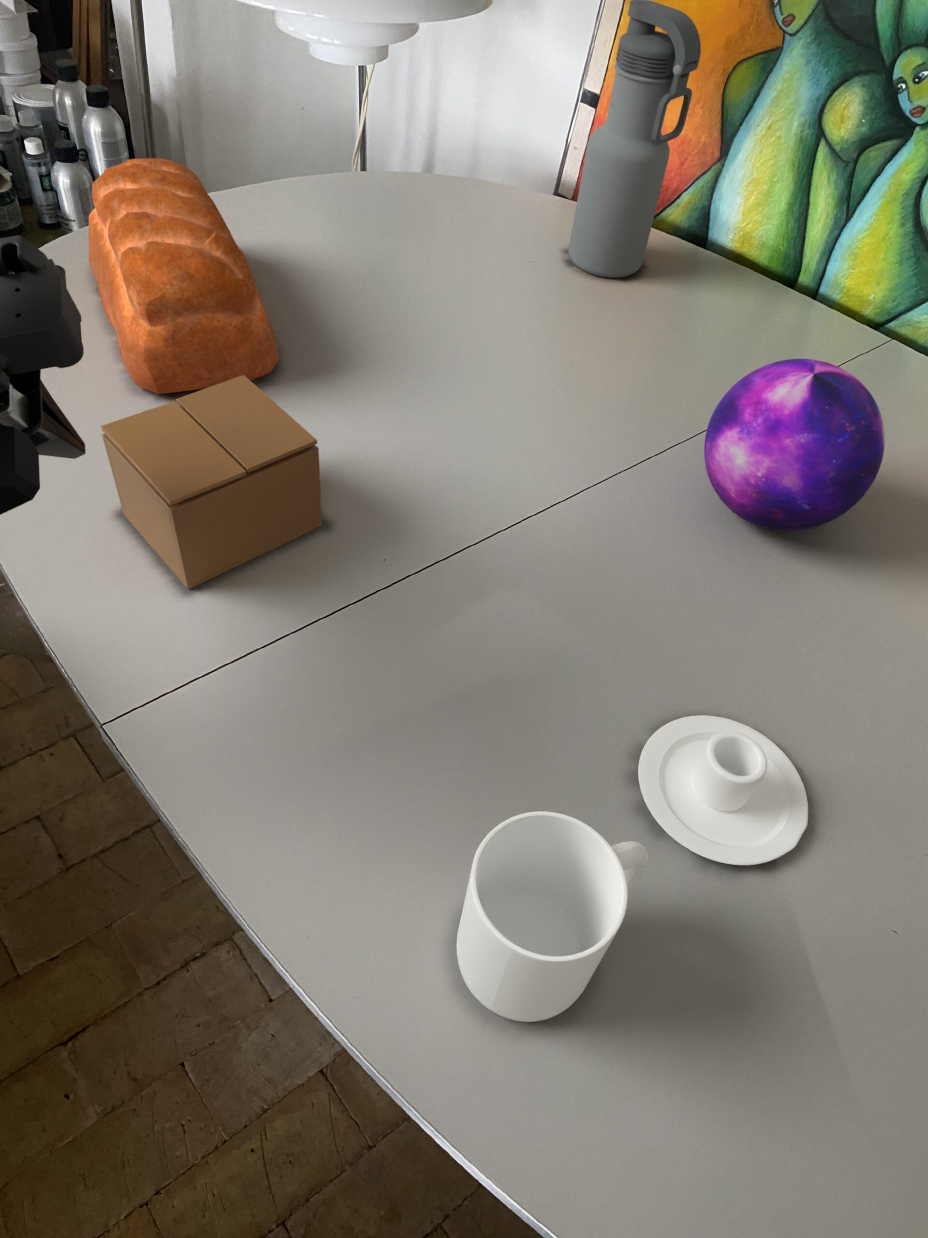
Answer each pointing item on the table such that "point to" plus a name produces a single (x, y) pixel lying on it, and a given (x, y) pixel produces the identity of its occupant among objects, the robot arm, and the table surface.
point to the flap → (173, 452)
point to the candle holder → (723, 790)
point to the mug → (542, 912)
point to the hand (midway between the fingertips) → (80, 452)
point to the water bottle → (633, 141)
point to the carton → (229, 486)
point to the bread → (175, 280)
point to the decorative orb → (794, 444)
